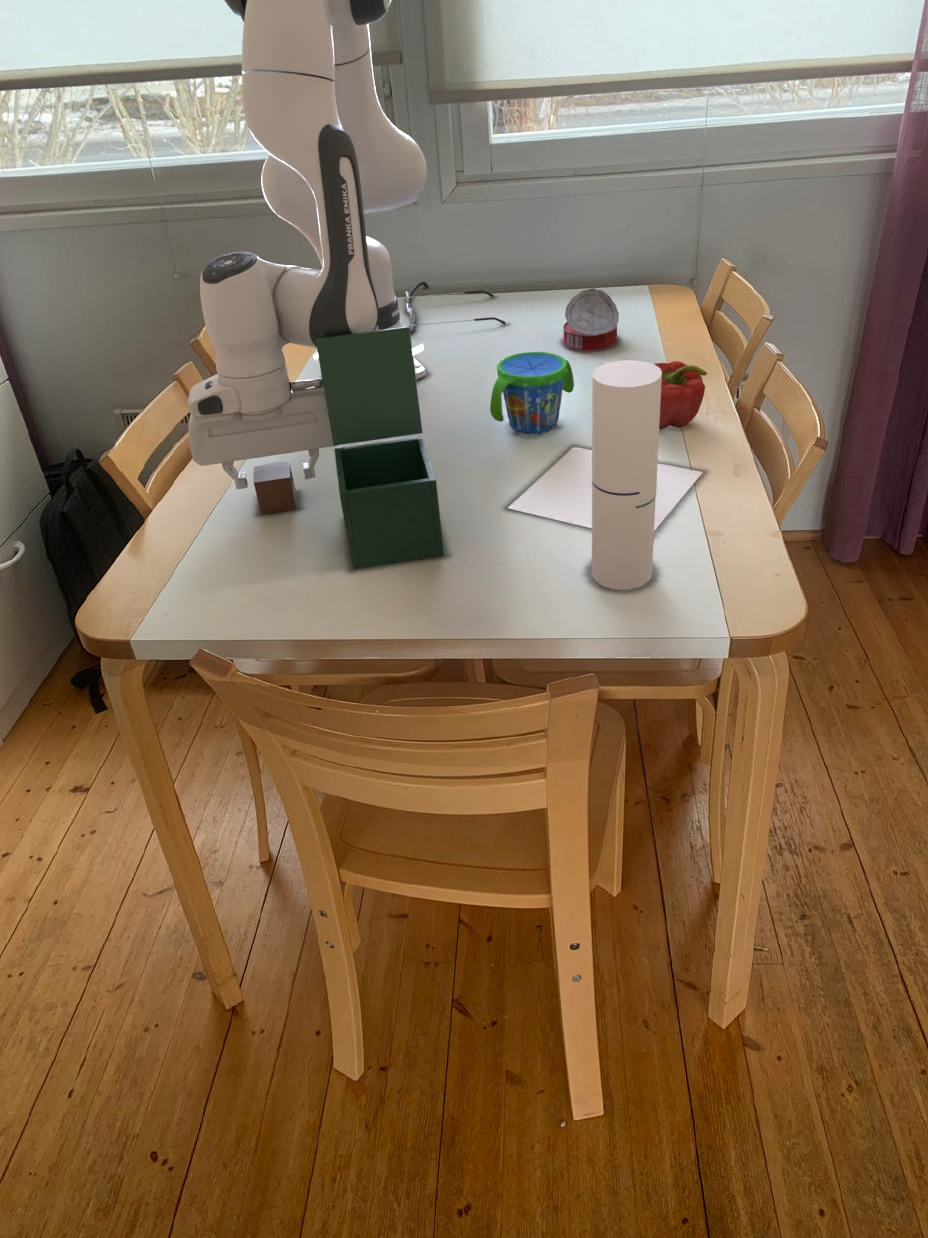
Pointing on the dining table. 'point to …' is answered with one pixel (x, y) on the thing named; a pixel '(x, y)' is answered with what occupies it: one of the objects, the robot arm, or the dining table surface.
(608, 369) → the cylindrical container
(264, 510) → the block
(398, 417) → the tin lid
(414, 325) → the eyeglasses
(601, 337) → the canned food
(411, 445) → the dark green hollow box
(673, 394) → the vegetable
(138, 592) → the dining table surface
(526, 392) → the snack cup
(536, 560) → the dining table surface
